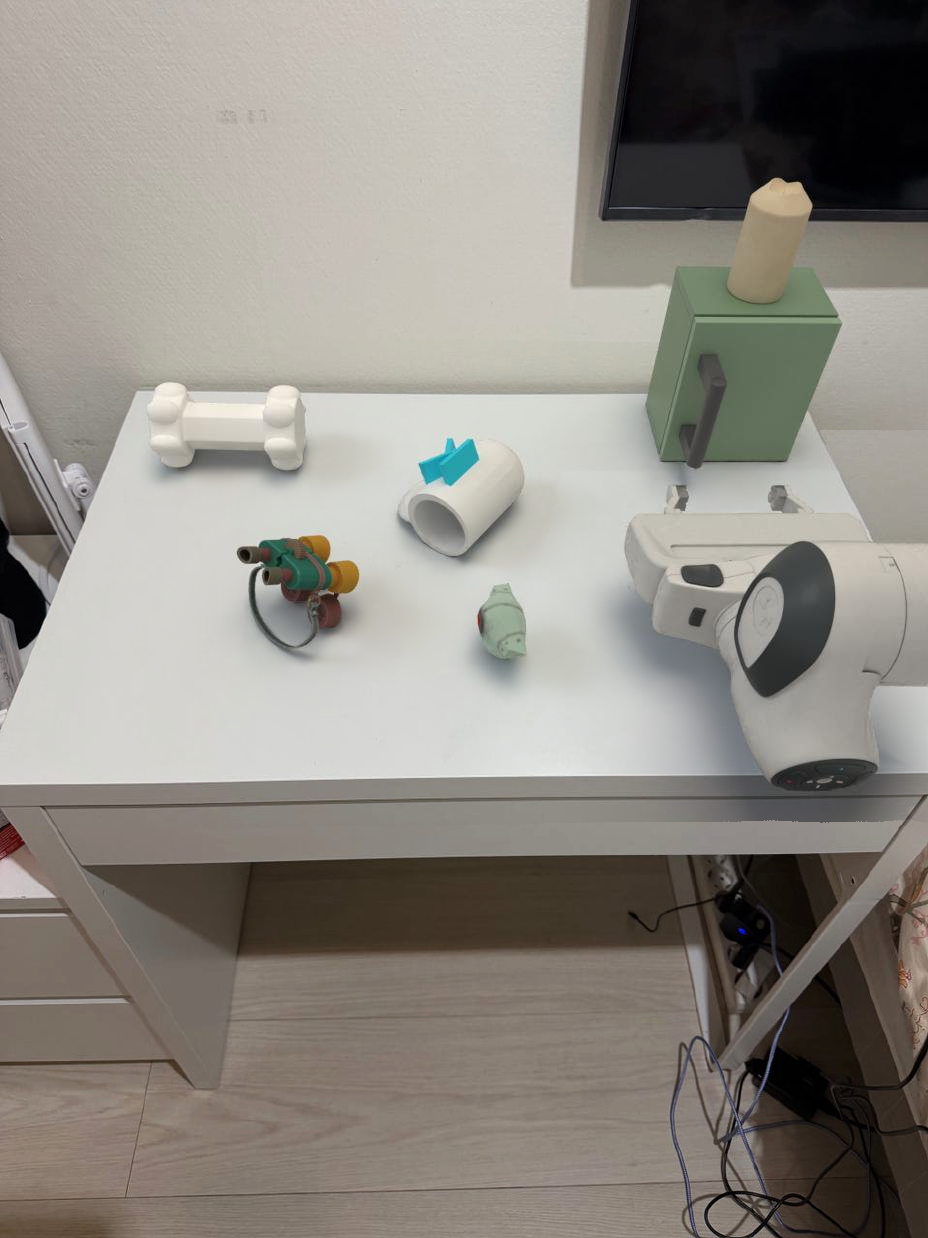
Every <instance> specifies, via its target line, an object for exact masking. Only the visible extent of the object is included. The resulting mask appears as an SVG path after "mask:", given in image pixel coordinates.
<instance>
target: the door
mask: <svg viewBox="0 0 928 1238" xmlns="http://www.w3.org/2000/svg"><path fill="white" fill-rule="evenodd" d="M842 326H843V322H842V320H841V318H840V317H838V318H798V317H694V321H693V325H692V329H691V333H690V336H689V340H688V344H687V348H686V352H685V356H684V360H683V364H682V368H681V372H680V376H679V380H678V384H677V387H676V391H675V395H674V399H673V403H672V407H671V411H670V415H669V419H668V423H667V427H666V431H665V435H664V439H663V442H662V446H661V450H660V454H658V456H659V459H660V461H661V462H686V465H687V467H689V468H691V469H695V470H698V469H700V468H702V466H703V465H704V462H719V461H720V462H761V461H762V462H787V461H788V459H789V456H790V454H791V451H792V449H793V447H794V444H795V441H796V439H797V436H798V434H799V432H800V430H801V428H802V424H803V422H804V421H805V420H804V419H805V416H806V414H807V412H808V409H809V407H810V404H811V403H812V400H813V397H814V395H815V392H816V390H817V387H818V385H819V382H820V380H821V378H822V375H823V372H824V370H825V368H826V365H827V363H828V361H829V358H830V355H831V353H832V350H833V347H834V346H835V343H836V341H837V338H838V335H839V334H840V331H841V328H842Z"/></svg>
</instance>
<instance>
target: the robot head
mask: <svg viewBox="0 0 928 1238" xmlns="http://www.w3.org/2000/svg"><path fill="white" fill-rule="evenodd" d="M476 616H477V618H476V619H477V627H478V631H479V635H480V638H481V639H480V640H481V641H482V643H483V645H484V648H485V649H486V650H487V651H488V652H489V653H490V654H491V655H492V656H494V657H495V658H497V659H498V660H499V659H500V660H508V659H515V658H519V657H524V656H528V653H527V645H526V641H527V620H526V616H525V612H524V609H523V607H522V606H521V604H520V603H519V602H518V599H516V597H515V595H514V594H513V590H512V588H511V586H510V583H509V582H507V583H501V584H496V585H493V586H492V588H491V591H490V593H489V597H488V598H487V599H486V601H485V602H484V603H483V604H482V605H481V606H480V607H479V610H478V612H477V615H476Z"/></svg>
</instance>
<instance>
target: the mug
mask: <svg viewBox="0 0 928 1238" xmlns="http://www.w3.org/2000/svg"><path fill="white" fill-rule="evenodd" d="M418 467H419V470H420V472H421V476H422V478H423V480H421V481H420V482H418V483H416V484H415V485H414V486H413V487H411V488H410V489H409V490H408V491H407V492H406V493H404V495H403V496H402V497H401V500H400V502H399V503H398V508H397V514H398V515H399V517H400V518H401V519H402V520H404V521H405V522H407V523H410V525H411V526H412V528H413V529H414V531H415V533H416V534H417V535H418V536H419V538H420V539H421V540H422V541H423V542H424V543H425V544H426V545H428V547H430V548H431V549H433V550H434V551H436V552H438V553H440V554H443V555H445V556H448V557H458V556H461V555H462V554H464V553H466V552H467V551H468V550H469V548H471V547H472V546H473V544H474V543H475V542H477V540H479V538H480V537H481V536H482V535H483V534H484V533H486V531H487V530H489V528H490V527H491V526H492V525H493V524H494V523H495V522H496V521H497V520H498V519H499V518H500V517H501V516H502V514H504V512H506V510H508V508H510V506H512V505H513V503H514V502H515V501H516V500H517V499H518V497H519V496H520V495H521V493H522V490H523V488H524V484H525V470H524V467H523V464H522V461H521V460H520V458H519V456H518V454H517V453H515V451H514V450H513V449H512V448H511V447H510V446H508V445H507V444H505V443H503V442H501V441H498V440H494V439H480V440H477V441H474V439H473V438H467V439H465V441H464V442H462V443H461V444H460V445H459V446H458V447H456V444H455V441H454V439H453V437H452V438H451V437H447V438H446V442H445V448H444V452H442V453H440V454H438V455H435V456H432V457H431V458H428V459H425V460H423V461H420V462H418Z"/></svg>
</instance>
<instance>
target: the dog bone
mask: <svg viewBox="0 0 928 1238" xmlns="http://www.w3.org/2000/svg"><path fill="white" fill-rule="evenodd" d="M306 412H307V408H306V406H305V405H304V404H303V401H302V398H301V392H300V391H299V390H298V388H296V387H295V386H292V385H287V384H282V385H275V386H273V387H272V388H271V389H269V390H268V392H267V397H266V401H265V403H230V402H195V401H194V400H193V399H192V397H191V396H190V394H189V391H188V389H187V388H186V386H185V385H183V384H181V383H179V382H174V381H173V382H172V381H170V382H169V381H167V382H163V383H160V384H158V385H157V386H156V387H155V389H154V392H153V396H152V399H151V402H149V404H147V406H146V412H145V413H146V416H147V419H148V420H147V421H148V429H149V439H150V440H149V448H150V449H151V450H152V451H153V452H154V453H156V454H157V455H159V457H160V461H161V462H162V464H164V466H166V467H170V468H176V469H177V468H184V467H187V466H189V465H190V464H191V463H192V462H193V459H194V455H195V453H196V451H197V450H218V451H219V450H220V451H261V452H262V451H264V452H265V453H266V454H267V455H268V457H269V458H270V462H271V464H272V466H273V467H275V468H276V469H278V470H280V471H293V470H296V469H298V468H300V467H301V466H302V464H303V462H304V452H305V448H306V446H307V444H308V438H307V434H306Z"/></svg>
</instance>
